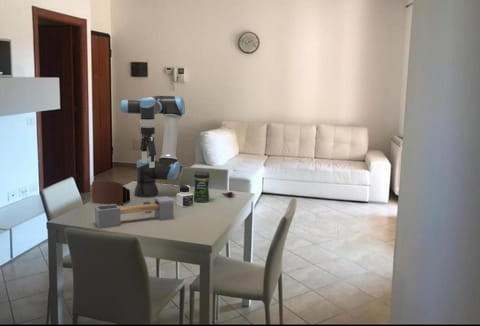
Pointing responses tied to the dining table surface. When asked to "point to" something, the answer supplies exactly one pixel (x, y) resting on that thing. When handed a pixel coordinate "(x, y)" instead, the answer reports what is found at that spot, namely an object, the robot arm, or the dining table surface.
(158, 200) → the frame
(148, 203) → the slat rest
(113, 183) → the letter holder
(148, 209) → the slat
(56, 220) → the dining table surface
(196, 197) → the coffee jar
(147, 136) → the robot arm
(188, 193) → the medicine bottle
